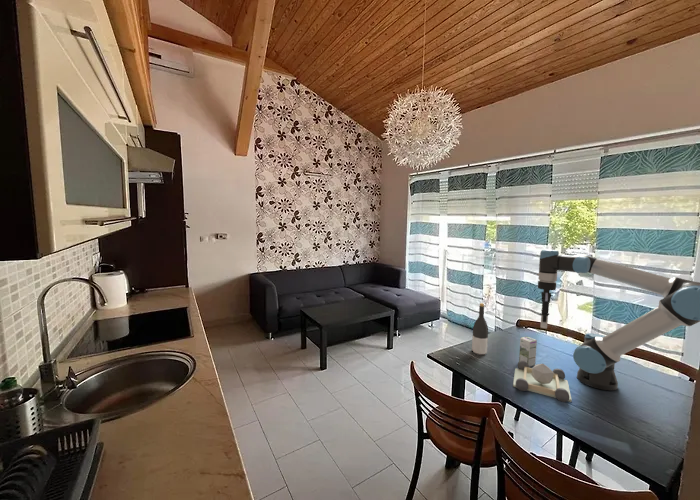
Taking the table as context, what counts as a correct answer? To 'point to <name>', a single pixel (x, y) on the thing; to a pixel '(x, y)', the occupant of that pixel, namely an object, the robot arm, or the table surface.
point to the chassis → (554, 388)
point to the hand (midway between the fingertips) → (543, 327)
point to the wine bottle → (480, 333)
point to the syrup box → (528, 350)
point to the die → (542, 374)
